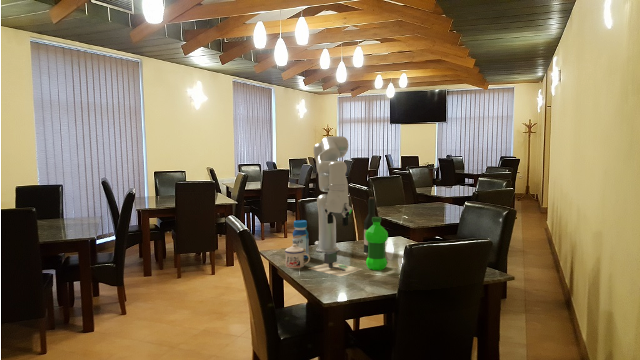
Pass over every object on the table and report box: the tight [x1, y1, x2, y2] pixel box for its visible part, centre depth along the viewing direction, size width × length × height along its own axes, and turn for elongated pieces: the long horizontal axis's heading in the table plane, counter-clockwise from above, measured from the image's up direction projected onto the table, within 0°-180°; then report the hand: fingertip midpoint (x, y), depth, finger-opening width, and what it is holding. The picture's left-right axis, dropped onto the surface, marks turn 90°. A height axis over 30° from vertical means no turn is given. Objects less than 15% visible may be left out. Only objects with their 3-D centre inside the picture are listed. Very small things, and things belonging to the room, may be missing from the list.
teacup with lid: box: [284, 243, 311, 269], centre depth 220 cm, size 12×9×12 cm
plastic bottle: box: [365, 216, 389, 271], centre depth 214 cm, size 10×10×25 cm
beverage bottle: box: [291, 219, 310, 260], centre depth 236 cm, size 8×8×20 cm
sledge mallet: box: [323, 251, 345, 270], centre depth 214 cm, size 10×6×7 cm, turn 47°
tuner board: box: [307, 262, 363, 277], centre depth 214 cm, size 20×16×1 cm
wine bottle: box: [363, 196, 377, 254], centre depth 252 cm, size 8×8×30 cm
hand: (337, 224), depth 216 cm, fingers open, 9 cm apart
